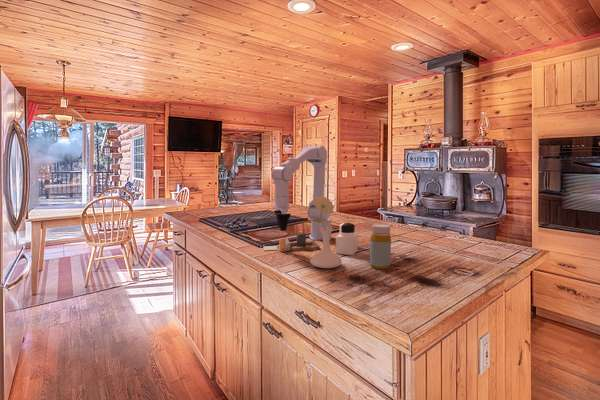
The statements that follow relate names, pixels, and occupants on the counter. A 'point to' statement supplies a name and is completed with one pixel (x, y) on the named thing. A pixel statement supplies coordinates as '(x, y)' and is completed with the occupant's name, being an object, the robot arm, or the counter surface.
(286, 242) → the latch bar
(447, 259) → the counter surface
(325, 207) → the flower in vase
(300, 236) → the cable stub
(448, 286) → the counter surface
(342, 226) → the medicine bottle
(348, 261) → the counter surface
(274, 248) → the off-white flat square block
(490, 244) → the counter surface
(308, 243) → the frame
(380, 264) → the bottle
